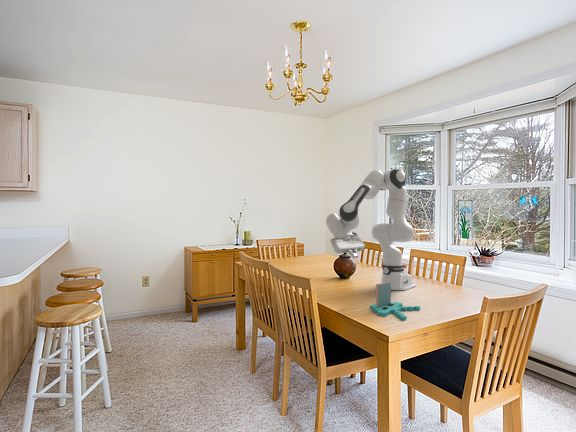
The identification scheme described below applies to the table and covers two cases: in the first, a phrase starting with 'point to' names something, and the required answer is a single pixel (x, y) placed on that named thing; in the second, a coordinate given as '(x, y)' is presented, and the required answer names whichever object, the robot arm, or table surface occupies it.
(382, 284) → the tile
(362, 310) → the table surface
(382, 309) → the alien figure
